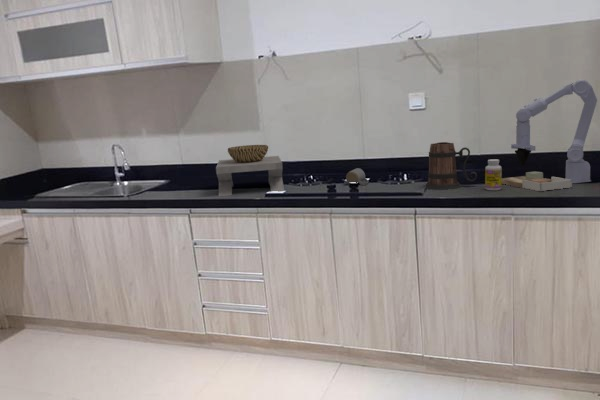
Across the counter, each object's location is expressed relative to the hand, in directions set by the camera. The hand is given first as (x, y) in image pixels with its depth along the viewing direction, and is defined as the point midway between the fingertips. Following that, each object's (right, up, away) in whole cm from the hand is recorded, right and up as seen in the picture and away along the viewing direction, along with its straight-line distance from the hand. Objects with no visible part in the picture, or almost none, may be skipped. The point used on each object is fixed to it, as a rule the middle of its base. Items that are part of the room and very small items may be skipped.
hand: (522, 165), depth 248 cm
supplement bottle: (-18, -11, -13) cm, 25 cm away
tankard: (-33, -10, 0) cm, 35 cm away
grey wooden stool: (-127, -10, +32) cm, 131 cm away
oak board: (-1, -9, -5) cm, 10 cm away
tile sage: (+2, -7, -7) cm, 10 cm away
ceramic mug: (-73, -8, +24) cm, 77 cm away
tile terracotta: (-1, -10, -17) cm, 20 cm away
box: (+3, -11, -18) cm, 21 cm away
